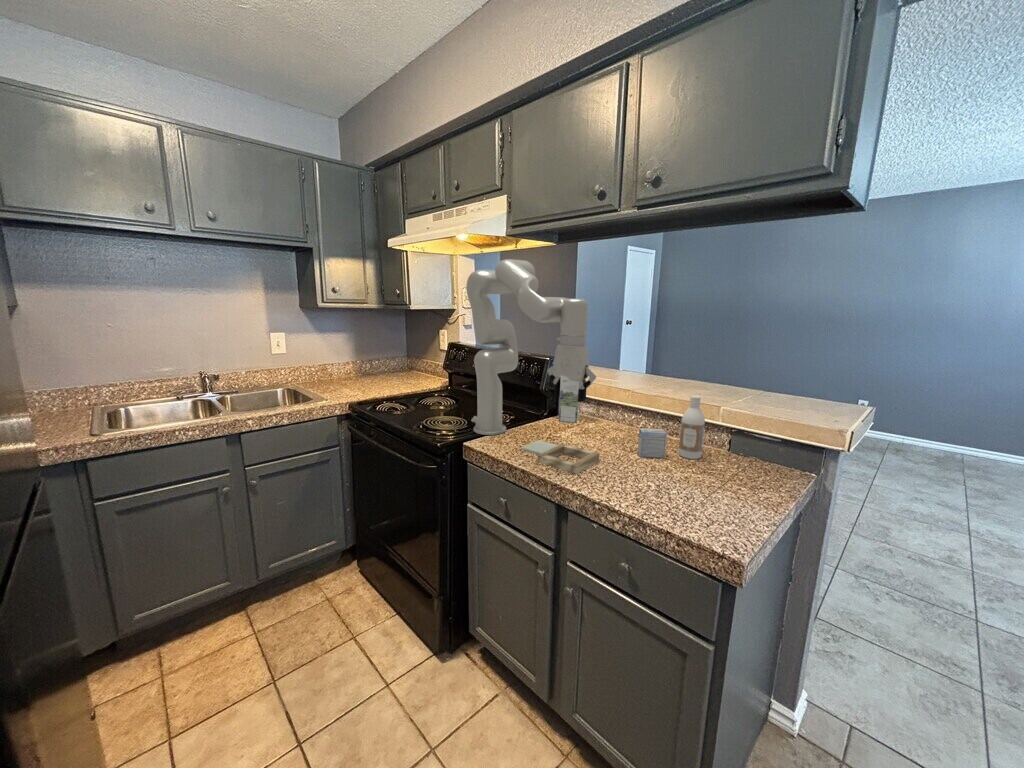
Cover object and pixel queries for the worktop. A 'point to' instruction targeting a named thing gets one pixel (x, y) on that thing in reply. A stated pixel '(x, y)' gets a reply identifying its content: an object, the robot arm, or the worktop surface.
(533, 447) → the sage tile
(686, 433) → the bath foam
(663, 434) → the medicine box
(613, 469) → the worktop surface
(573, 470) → the beige flat square frame
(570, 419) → the syrup box
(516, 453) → the worktop surface
